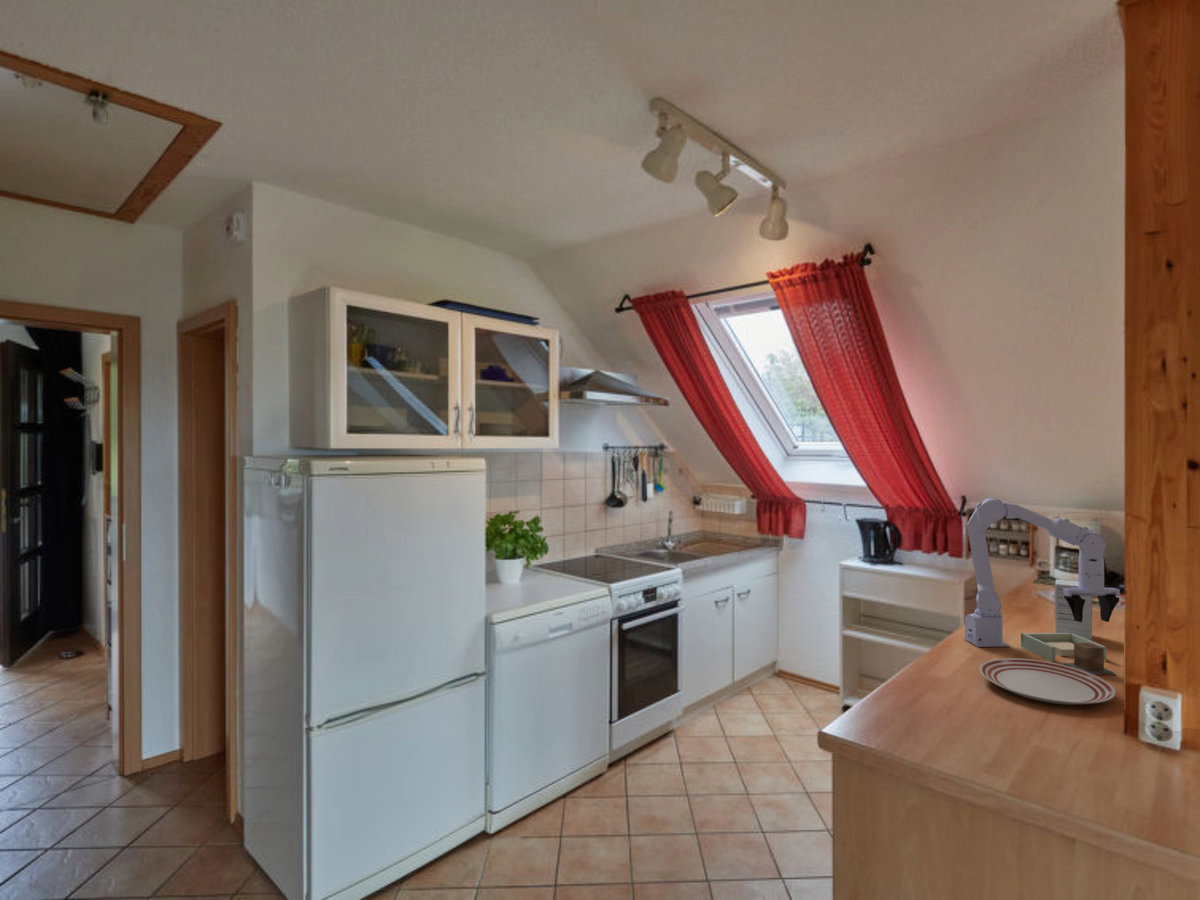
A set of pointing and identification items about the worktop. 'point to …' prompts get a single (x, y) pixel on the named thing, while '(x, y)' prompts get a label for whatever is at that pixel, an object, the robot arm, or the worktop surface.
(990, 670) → the dinner plate
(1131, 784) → the worktop surface
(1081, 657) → the block
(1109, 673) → the mat
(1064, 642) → the crate
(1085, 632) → the supplement box
